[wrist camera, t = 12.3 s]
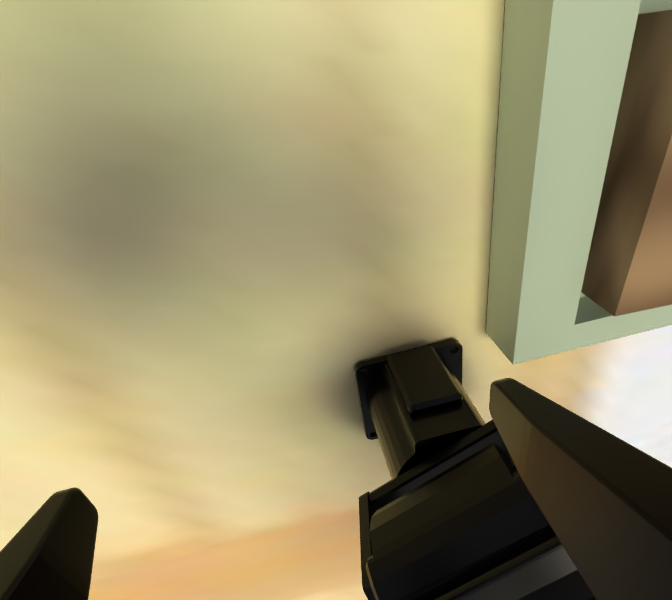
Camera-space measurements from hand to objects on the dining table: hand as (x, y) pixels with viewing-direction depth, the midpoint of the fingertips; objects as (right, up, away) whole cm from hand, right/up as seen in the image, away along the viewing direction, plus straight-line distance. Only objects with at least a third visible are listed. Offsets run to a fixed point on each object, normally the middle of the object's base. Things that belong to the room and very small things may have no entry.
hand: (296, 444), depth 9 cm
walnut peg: (+15, +9, +10) cm, 20 cm away
